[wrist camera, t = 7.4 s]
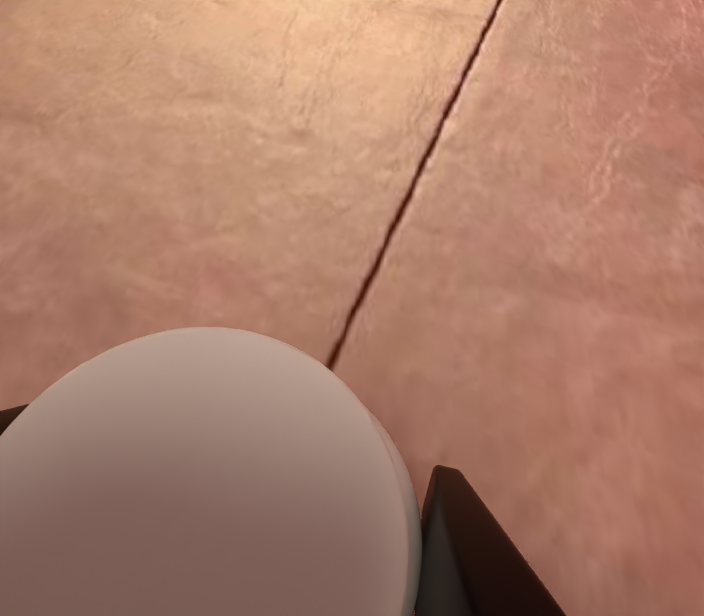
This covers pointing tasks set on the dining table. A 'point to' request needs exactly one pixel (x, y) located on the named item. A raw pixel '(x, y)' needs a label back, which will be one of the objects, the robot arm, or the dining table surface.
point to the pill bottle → (204, 488)
